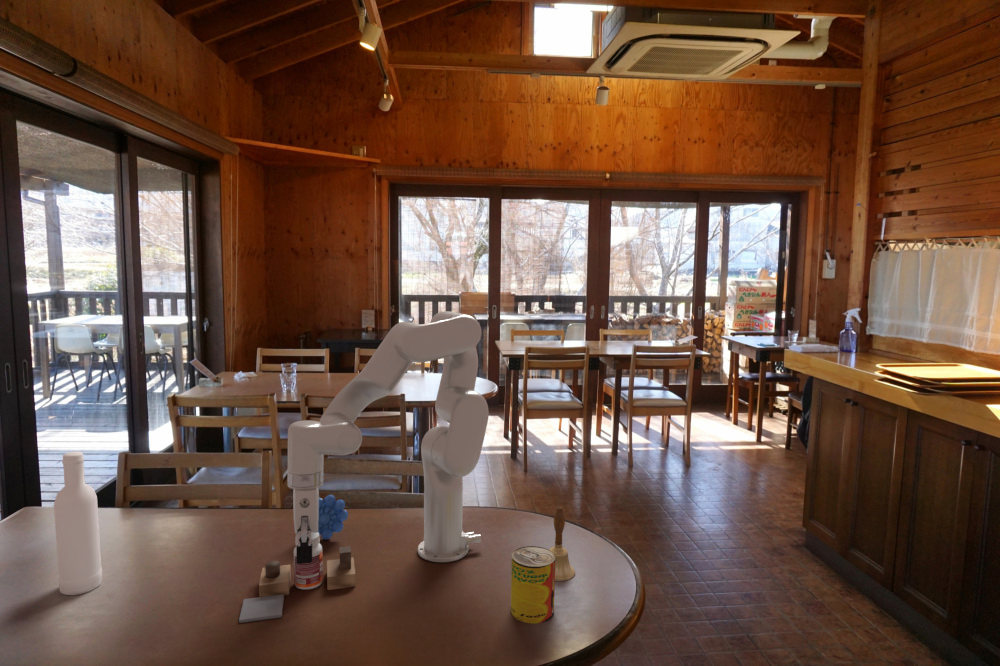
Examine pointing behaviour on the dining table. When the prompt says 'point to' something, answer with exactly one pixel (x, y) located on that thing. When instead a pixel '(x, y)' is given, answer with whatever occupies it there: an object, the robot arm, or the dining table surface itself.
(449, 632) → the dining table surface
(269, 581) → the wooden knob block
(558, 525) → the hand bell
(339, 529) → the blue flower
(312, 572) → the pill bottle
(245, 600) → the coaster
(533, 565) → the beverage can
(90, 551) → the bottle
